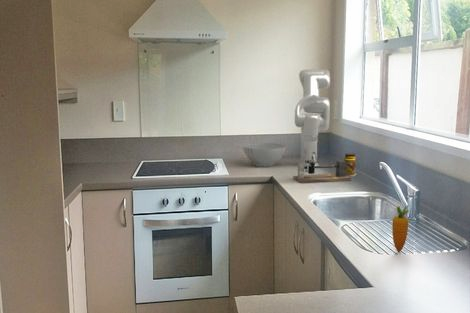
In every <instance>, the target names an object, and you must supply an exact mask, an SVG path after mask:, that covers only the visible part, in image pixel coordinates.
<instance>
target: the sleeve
mask: <svg viewBox="0 0 470 313" xmlns="http://www.w3.org/2000/svg"><path fill="white" fill-rule="evenodd" d="M305 166H307V169H304V172H305V171H307V172H306V173H308V168H309V163H305ZM315 172H316V170H315V171H314V173H315Z"/></svg>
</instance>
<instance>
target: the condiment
mask: <svg viewBox="0 0 470 313" xmlns="http://www.w3.org/2000/svg"><path fill="white" fill-rule="evenodd" d="M355 156H356V155H355V153H351V152H350V153H348V152H347V153H345V157H344V160H343V161H345V162H347V163H346V176H348V177H355V176H356V175H357V173H356V157H355Z"/></svg>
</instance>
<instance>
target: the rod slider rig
mask: <svg viewBox="0 0 470 313" xmlns="http://www.w3.org/2000/svg"><path fill="white" fill-rule="evenodd" d="M346 163H347V162H345V161H344V160H336V162H335V164H336V165H335V164H331V165H319V166H315V169H331V168H332V169H334V168H335V173H326V174H325V173H323V174H309V175H307V174H306V175H305V169H307V166H305V167H304V163H301V162H297V175H293V176H292V178H293V180H295V181H297V182H298V183H300V184H310V183H311V184H315V183H317V184H318V183H331V182H332V183H336V182H352V178H351V176H346Z"/></svg>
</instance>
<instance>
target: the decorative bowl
mask: <svg viewBox="0 0 470 313" xmlns="http://www.w3.org/2000/svg"><path fill="white" fill-rule="evenodd" d="M286 147H287V146H286V145H284V144H282V143H281V144H280V143H270V142H259V143H258V142H256V143H248V144H247V143H246V144H244V145H242V149H243V151H244V154H245V157H247V159H248V160H249V161H251V162H252V163H253V164H254V165H253V166H255V165H256V167H260V166H269V167H274V166H273V165H275V164H276V163H277V162H279V161H280V160H281V159H282V157H283V156H284V154H285V151H286V149H287V148H286Z"/></svg>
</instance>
